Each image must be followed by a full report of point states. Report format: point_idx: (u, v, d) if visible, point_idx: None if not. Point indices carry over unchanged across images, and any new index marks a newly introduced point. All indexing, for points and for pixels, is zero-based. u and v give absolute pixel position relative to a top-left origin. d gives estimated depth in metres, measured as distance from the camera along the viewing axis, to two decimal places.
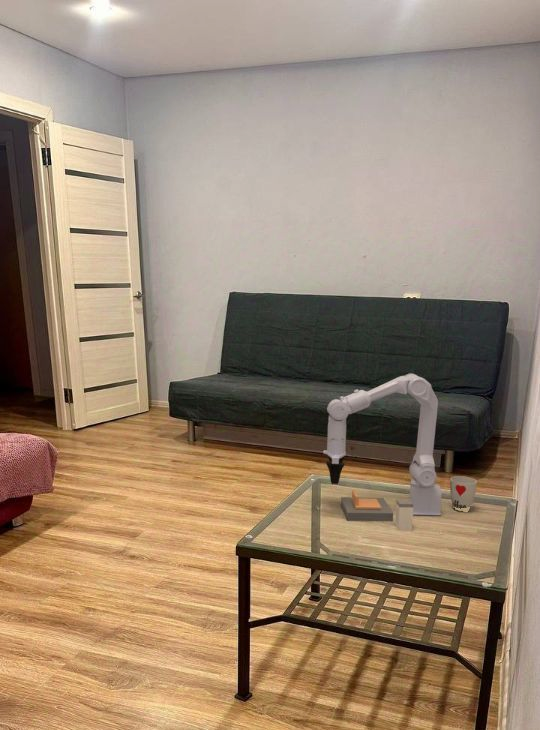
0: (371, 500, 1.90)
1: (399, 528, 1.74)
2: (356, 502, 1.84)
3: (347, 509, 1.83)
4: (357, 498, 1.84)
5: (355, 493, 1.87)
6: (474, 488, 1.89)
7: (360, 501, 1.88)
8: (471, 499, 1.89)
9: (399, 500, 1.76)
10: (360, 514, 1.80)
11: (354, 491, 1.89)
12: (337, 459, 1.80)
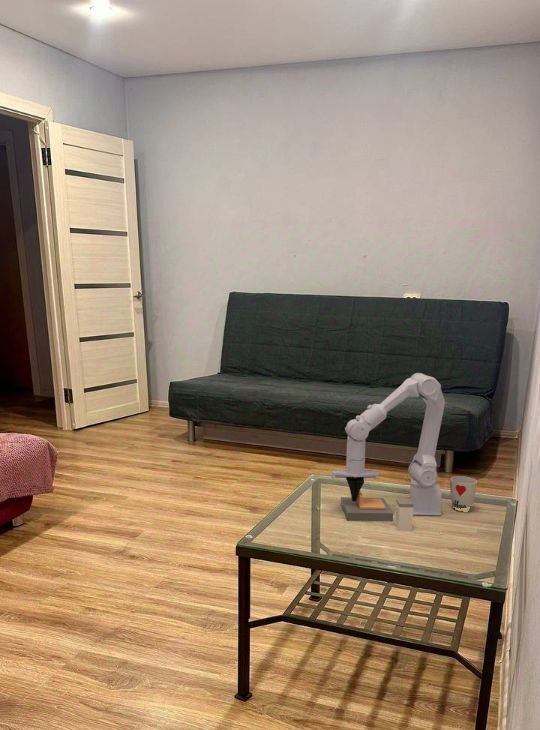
0: (375, 500, 1.90)
1: (399, 528, 1.74)
2: (360, 502, 1.84)
3: (347, 509, 1.83)
4: (361, 498, 1.84)
5: (359, 493, 1.87)
6: (474, 488, 1.89)
7: (364, 501, 1.89)
8: (471, 499, 1.89)
9: (399, 500, 1.76)
10: (360, 514, 1.80)
11: None
12: (332, 473, 1.85)
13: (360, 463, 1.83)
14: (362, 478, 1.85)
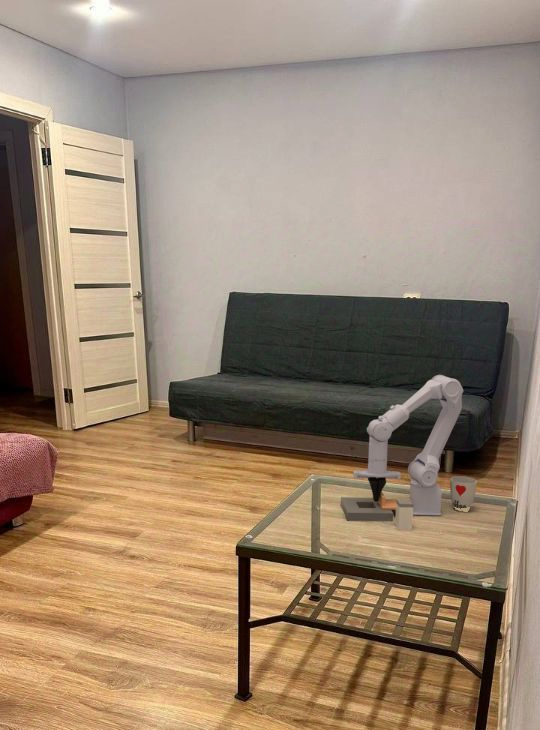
0: None
1: (399, 528, 1.74)
2: (382, 503, 1.84)
3: (347, 509, 1.83)
4: (384, 498, 1.84)
5: (381, 493, 1.87)
6: (474, 488, 1.89)
7: (386, 501, 1.89)
8: (471, 499, 1.89)
9: (399, 500, 1.76)
10: (360, 514, 1.80)
11: None
12: (354, 473, 1.86)
13: (382, 463, 1.83)
14: (384, 478, 1.86)
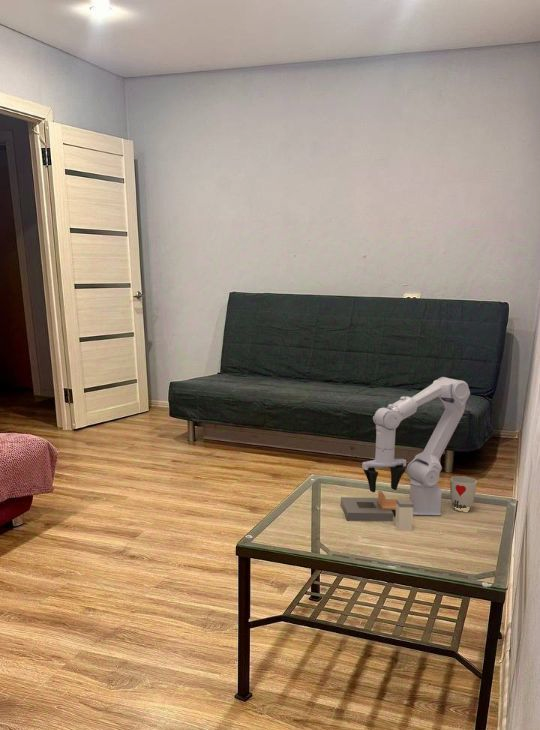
0: None
1: (399, 528, 1.74)
2: (382, 503, 1.84)
3: (347, 509, 1.83)
4: (384, 498, 1.84)
5: (381, 493, 1.87)
6: (474, 488, 1.89)
7: (386, 501, 1.89)
8: (471, 499, 1.89)
9: (399, 500, 1.76)
10: (360, 514, 1.80)
11: (380, 492, 1.89)
12: (364, 465, 1.80)
13: (392, 452, 1.80)
14: (392, 467, 1.83)
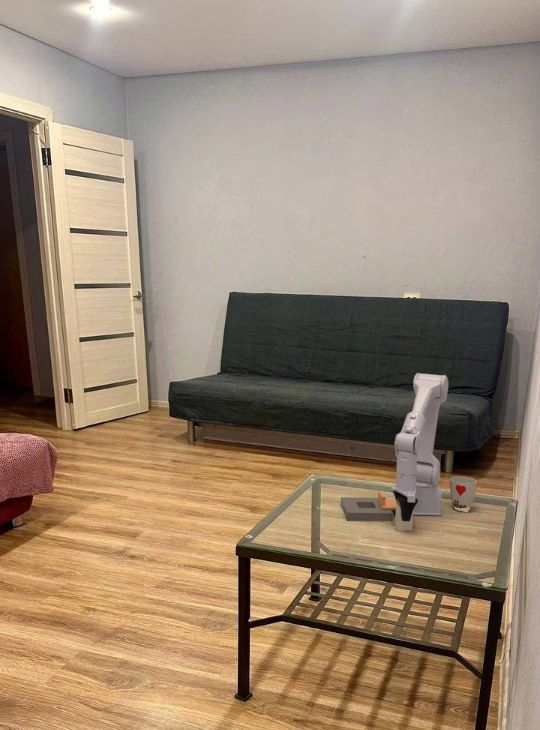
0: None
1: (399, 528, 1.74)
2: (382, 503, 1.84)
3: (347, 509, 1.83)
4: (384, 498, 1.84)
5: (381, 493, 1.87)
6: (474, 488, 1.89)
7: (386, 501, 1.89)
8: (471, 499, 1.89)
9: None
10: (360, 514, 1.80)
11: (380, 492, 1.89)
12: (414, 497, 1.68)
13: None
14: None
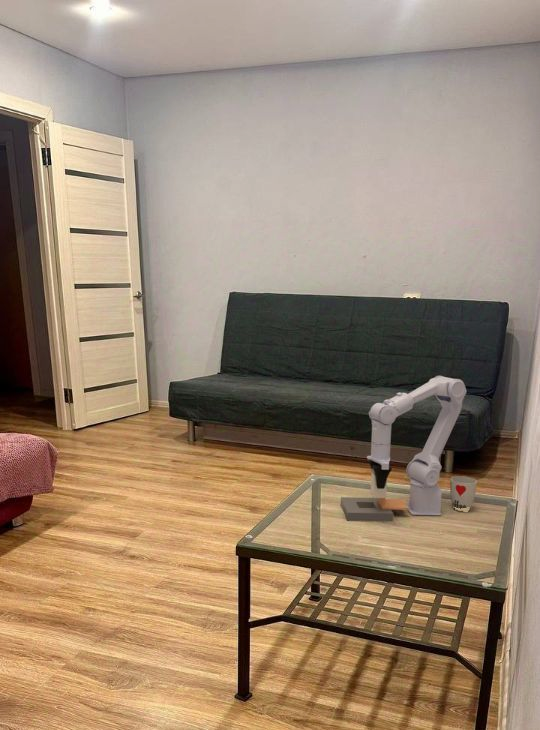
0: (397, 500, 1.90)
1: (374, 495, 1.81)
2: (382, 503, 1.84)
3: (347, 509, 1.83)
4: (384, 498, 1.84)
5: None
6: (474, 488, 1.89)
7: (386, 501, 1.89)
8: (471, 499, 1.89)
9: None
10: (360, 514, 1.80)
11: None
12: (387, 465, 1.75)
13: None
14: None
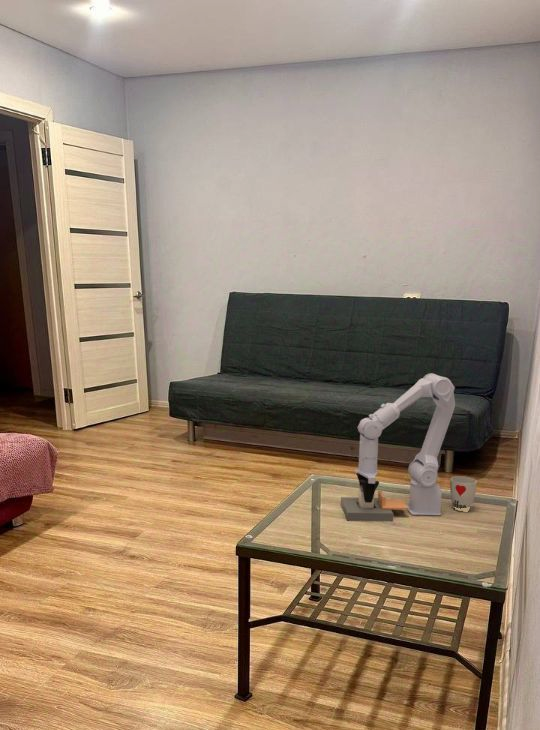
0: (397, 500, 1.90)
1: None
2: (382, 503, 1.84)
3: (347, 509, 1.83)
4: (384, 498, 1.84)
5: (381, 493, 1.87)
6: (474, 488, 1.89)
7: (386, 501, 1.89)
8: (471, 499, 1.89)
9: (361, 486, 1.88)
10: (360, 514, 1.80)
11: (380, 492, 1.89)
12: (374, 479, 1.79)
13: None
14: None
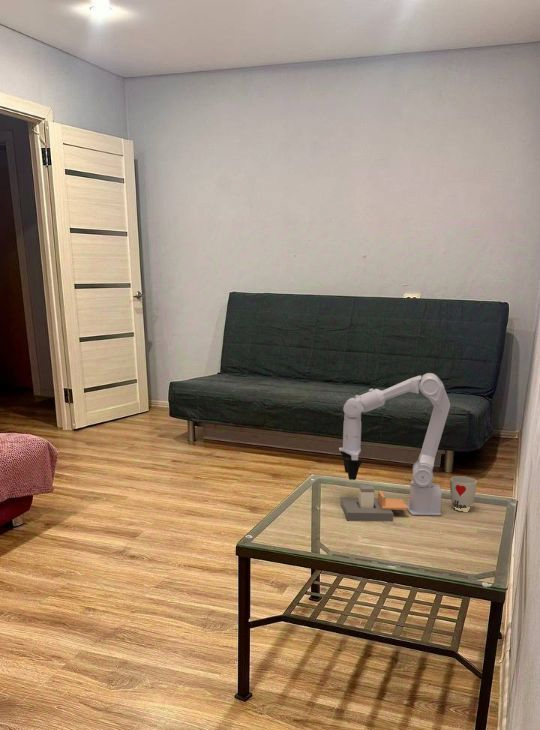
0: (397, 500, 1.90)
1: None
2: (382, 503, 1.84)
3: (347, 509, 1.83)
4: (384, 498, 1.84)
5: (381, 493, 1.87)
6: (474, 488, 1.89)
7: (386, 501, 1.89)
8: (471, 499, 1.89)
9: (361, 486, 1.88)
10: (360, 514, 1.80)
11: (380, 492, 1.89)
12: (357, 455, 1.86)
13: None
14: None
